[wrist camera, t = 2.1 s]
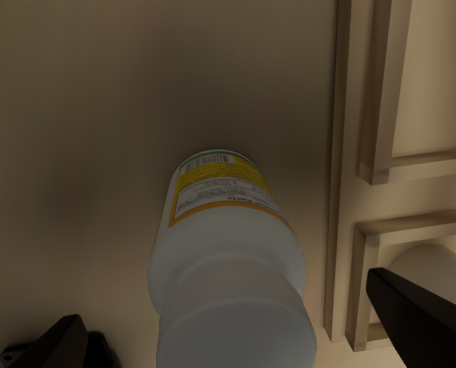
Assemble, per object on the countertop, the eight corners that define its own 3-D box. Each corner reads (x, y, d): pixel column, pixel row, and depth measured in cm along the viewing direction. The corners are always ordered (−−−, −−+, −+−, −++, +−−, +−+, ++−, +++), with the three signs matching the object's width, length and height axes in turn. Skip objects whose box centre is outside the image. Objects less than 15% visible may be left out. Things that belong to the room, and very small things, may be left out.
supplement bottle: (204, 126, 14) (214, 230, 5) (283, 182, 16) (392, 331, 7) (149, 206, 15) (84, 392, 7) (227, 249, 17) (256, 444, 8)
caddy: (324, 327, 21) (339, 359, 18) (340, -39, 12) (372, -63, 10) (466, 304, 21) (497, 332, 19) (583, -64, 12) (666, -92, 10)
